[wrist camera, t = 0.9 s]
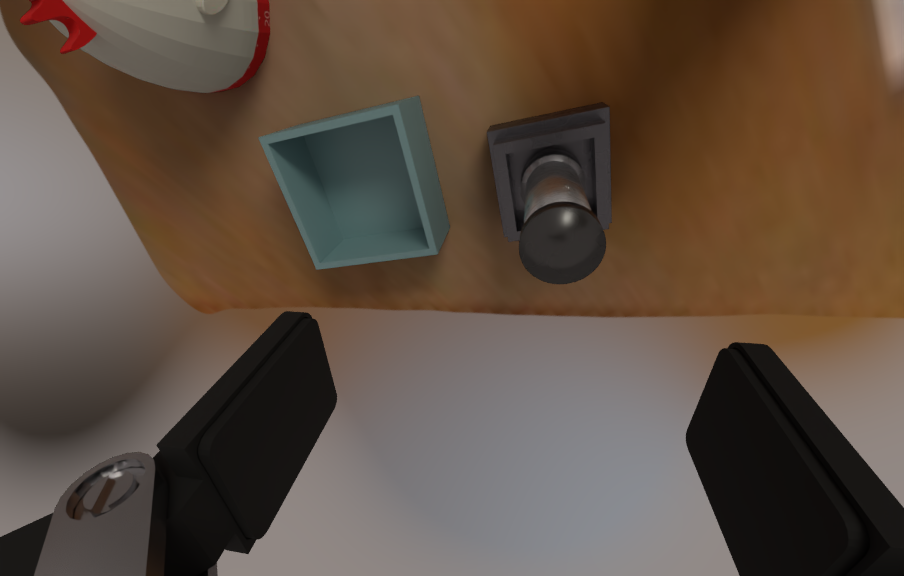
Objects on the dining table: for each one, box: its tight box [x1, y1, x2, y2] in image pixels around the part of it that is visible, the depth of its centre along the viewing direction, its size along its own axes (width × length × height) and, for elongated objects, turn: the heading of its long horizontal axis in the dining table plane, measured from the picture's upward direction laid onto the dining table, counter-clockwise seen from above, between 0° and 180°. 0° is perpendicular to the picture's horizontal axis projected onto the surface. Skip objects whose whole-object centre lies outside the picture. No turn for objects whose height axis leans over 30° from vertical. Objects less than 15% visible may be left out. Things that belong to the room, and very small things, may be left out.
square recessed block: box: [487, 102, 612, 242], centre depth 31 cm, size 9×9×6 cm
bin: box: [259, 96, 450, 270], centre depth 34 cm, size 12×12×6 cm
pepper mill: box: [519, 148, 606, 284], centre depth 26 cm, size 5×5×13 cm
